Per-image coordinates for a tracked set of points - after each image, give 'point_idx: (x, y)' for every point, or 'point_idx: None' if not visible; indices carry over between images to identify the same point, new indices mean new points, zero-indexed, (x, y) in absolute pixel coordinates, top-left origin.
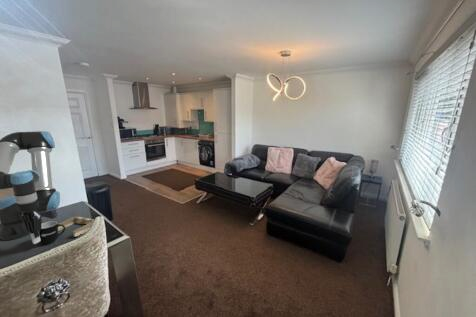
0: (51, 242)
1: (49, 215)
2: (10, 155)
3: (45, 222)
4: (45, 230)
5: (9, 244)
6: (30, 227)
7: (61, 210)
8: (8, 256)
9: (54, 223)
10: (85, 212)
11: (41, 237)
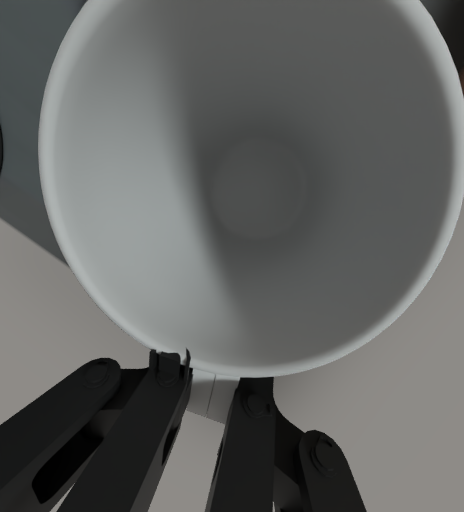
0: (304, 214)
1: None
2: None
3: (48, 93)
4: (323, 329)
5: (41, 230)
6: (147, 508)
7: None
8: None
9: (232, 4)
10: None
11: (262, 285)
